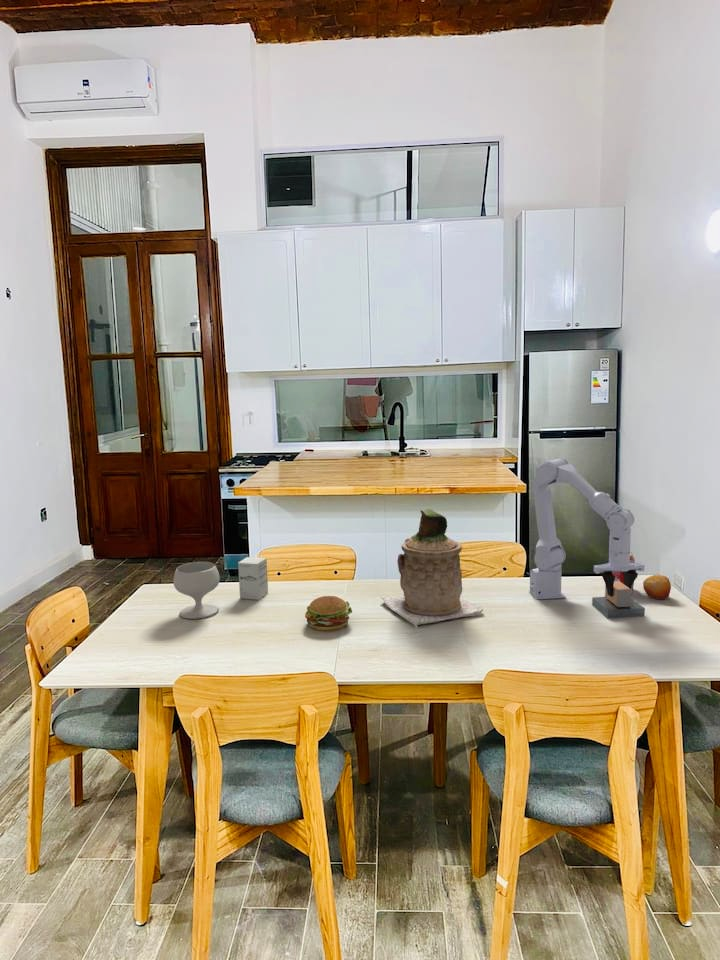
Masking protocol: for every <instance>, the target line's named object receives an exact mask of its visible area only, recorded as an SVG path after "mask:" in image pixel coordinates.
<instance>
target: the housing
mask: <svg viewBox="0 0 720 960" xmlns="http://www.w3.org/2000/svg"><path fill="white" fill-rule="evenodd" d="M604 584H605V583H604ZM604 586H605V589H604V590H605V592H604V597H606V598H607V599H608V600H610V601H611V602H612V603H613V604H615V605H616V606H617V607H631V603H632V599H633V596H632V595H633V589H630V588H628V587H627V586H626V585H624V584H623V583H621V582H620V581H614V585H613V596H609V595H608V593H607V588H606V584H605V585H604Z"/></svg>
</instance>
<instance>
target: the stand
mask: <svg viewBox="0 0 720 960" xmlns="http://www.w3.org/2000/svg"><path fill="white" fill-rule="evenodd" d="M591 599H592V600H591V602H592V603H591V605H592V607H593V608H595V609H596V610H597V611H598V612H600V614H602V615H603V616H604V617H605V618H606V619H620V618H622V619H623V618H641V617H645V613H646V612H645V609H646V608H645V607H644V606H642V605H641V604H639V602H637V601H636V600H634V599H633V598H632V603H631V607H617V606H616V605H615V604H613V603H612V602H611V601H610V600H608V599H607V598H606V597H605V596H596V597H595V596H593V597H592V598H591Z"/></svg>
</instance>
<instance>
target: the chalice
mask: <svg viewBox="0 0 720 960" xmlns="http://www.w3.org/2000/svg"><path fill="white" fill-rule="evenodd" d="M219 584H220V573H219V570H218V568H217V566H216V565H215V564H214V563H213V562H209V561H193V562H187V563H183V564H181V565H179V566H177V567H176V569H175V572H174V575H173V586H174V588H175V590H176V591H177V592H178V593H181V594H182V595H185V596H187V597H191V598H192V599H193V600H194V602H195V603H194V605H190V606H187V607H185V608H183V609H182V610H181V611H179V614H178V615H179V617H181V618H183V619H191V620H192V619H193V620H194V619H197V620H198V619H204V618H209V617H212V616H214V615H215V614H217V613H219V610H220V609H219V607H218V606H216V605H214V604H209V603H207V604H203V603H202V602H203V601H202V600H203V598H204V597H205V596H206V595H207V594H208V593H210V592H212V591H214V590H215V589H216V588H217V587H218V586H219Z"/></svg>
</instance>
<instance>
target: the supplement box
mask: <svg viewBox="0 0 720 960" xmlns="http://www.w3.org/2000/svg"><path fill="white" fill-rule="evenodd" d="M267 560H268V559H267V557H254V556H247V557H245V558H243V559H241V560H240V561H238V562H237V566H238V567H237V568H238V569H237V570H238V584H239V585H238V586H239V587H238V588H239V598H241V599H243V600H244V599H245V600H256V601H261V600H262V599H263V598H264V597H266V596H267V595H268V594H269V585H268V583H269V581H268V579H269V578H268V565H267V564H268V562H267ZM267 593H268V594H267ZM266 594H267V595H266ZM263 596H264V597H263ZM262 597H263V598H262ZM261 598H262V599H261Z"/></svg>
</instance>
